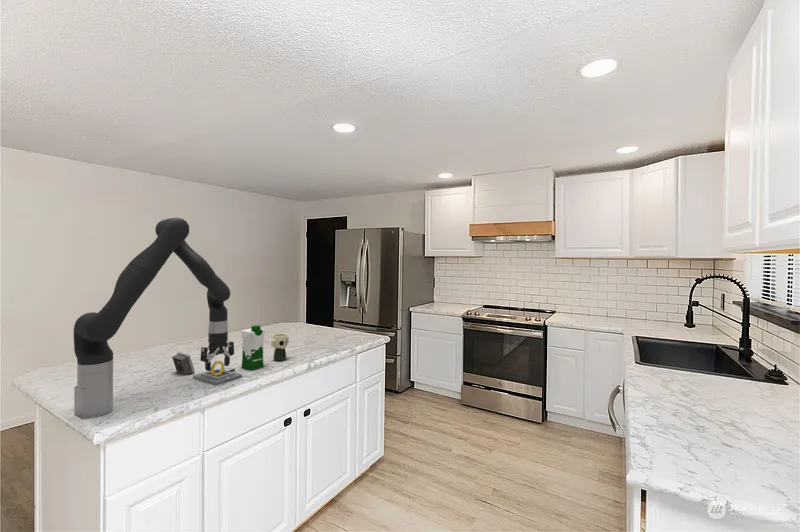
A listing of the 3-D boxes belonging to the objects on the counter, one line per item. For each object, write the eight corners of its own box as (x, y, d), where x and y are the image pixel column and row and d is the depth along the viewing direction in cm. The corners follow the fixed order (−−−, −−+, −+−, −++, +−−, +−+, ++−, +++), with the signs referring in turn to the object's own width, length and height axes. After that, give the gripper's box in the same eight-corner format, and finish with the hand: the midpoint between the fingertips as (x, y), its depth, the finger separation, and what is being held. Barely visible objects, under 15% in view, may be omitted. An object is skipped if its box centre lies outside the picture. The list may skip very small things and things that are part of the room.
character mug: (276, 363, 182) (276, 337, 182) (266, 361, 186) (266, 335, 185) (292, 358, 192) (293, 333, 191) (283, 356, 195) (283, 332, 195)
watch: (219, 373, 162) (221, 360, 163) (224, 374, 161) (226, 360, 162) (208, 375, 157) (210, 361, 157) (213, 376, 156) (215, 362, 156)
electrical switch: (195, 373, 165) (193, 353, 164) (183, 377, 160) (181, 357, 159) (184, 369, 170) (182, 350, 169) (172, 373, 165) (170, 353, 164)
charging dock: (216, 385, 150) (216, 380, 150) (193, 378, 158) (193, 373, 158) (251, 374, 165) (251, 370, 165) (228, 368, 173) (228, 364, 173)
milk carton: (250, 371, 169) (251, 328, 169) (238, 368, 174) (238, 325, 173) (266, 366, 177) (267, 325, 176) (254, 363, 181) (254, 323, 181)
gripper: (208, 334, 151) (207, 374, 151) (238, 329, 163) (237, 365, 164) (197, 332, 154) (196, 370, 155) (227, 327, 167) (226, 362, 167)
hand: (217, 368), depth 159 cm, fingers open, 8 cm apart
